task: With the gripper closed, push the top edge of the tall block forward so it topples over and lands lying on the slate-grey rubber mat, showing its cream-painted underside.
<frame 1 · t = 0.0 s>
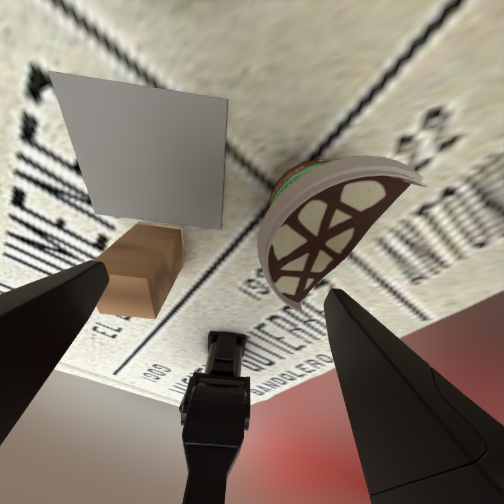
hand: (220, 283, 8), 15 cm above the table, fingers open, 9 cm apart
food container: (290, 193, 21), on the table
mat: (152, 164, 19), on the table
block: (163, 242, 24), on the table
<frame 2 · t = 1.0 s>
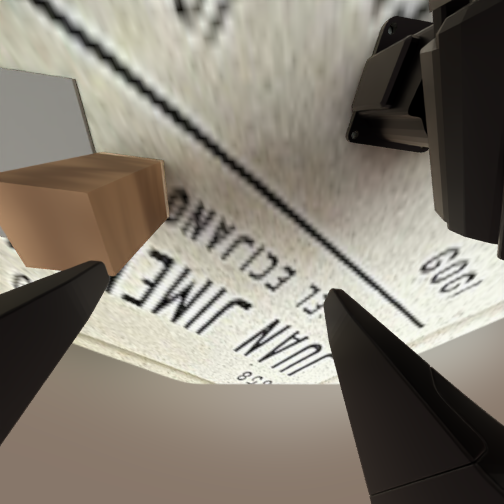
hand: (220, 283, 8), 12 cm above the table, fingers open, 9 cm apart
mat: (32, 173, 17), on the table
block: (138, 186, 18), on the table
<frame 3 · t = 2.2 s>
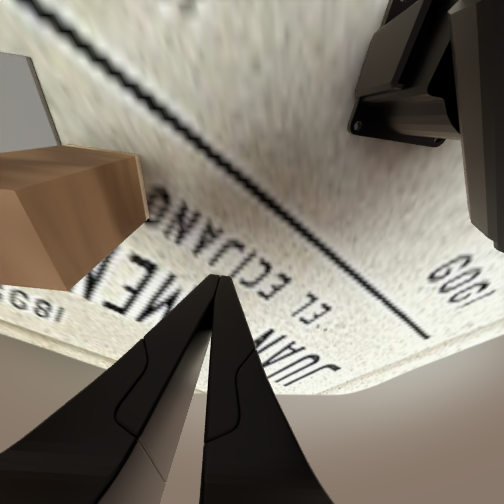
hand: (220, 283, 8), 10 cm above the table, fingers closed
block: (112, 184, 16), on the table
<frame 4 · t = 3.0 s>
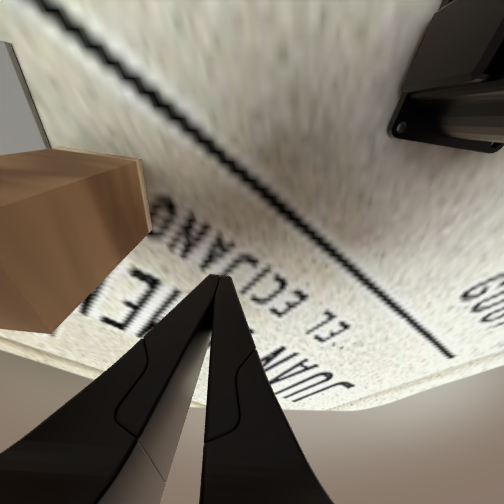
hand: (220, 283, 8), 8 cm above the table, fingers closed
block: (110, 192, 14), on the table
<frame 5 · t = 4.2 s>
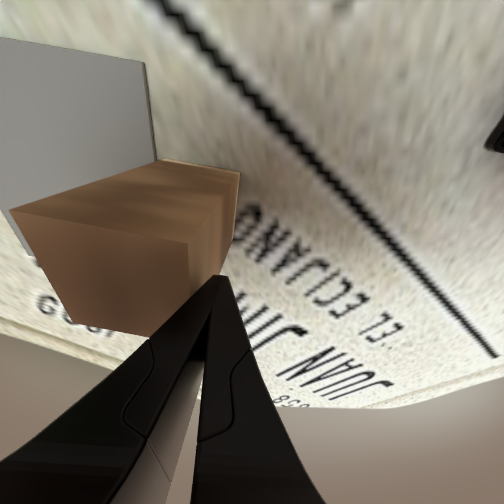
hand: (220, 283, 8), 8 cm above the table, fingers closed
mat: (73, 182, 14), on the table
block: (202, 202, 14), on the table, touching gripper
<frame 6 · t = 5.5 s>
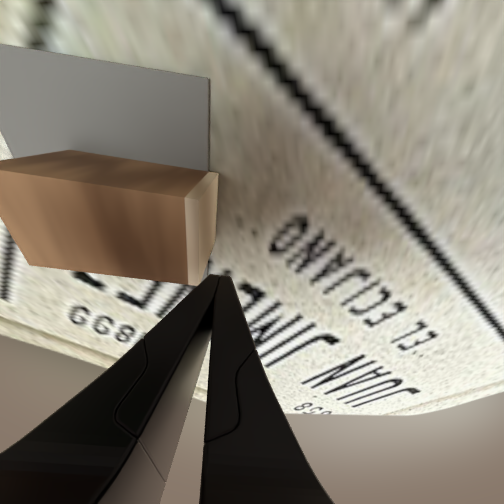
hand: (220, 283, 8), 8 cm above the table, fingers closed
mat: (121, 196, 14), on the table
block: (209, 226, 12), point 3 cm above the table, tilted 90°, touching mat
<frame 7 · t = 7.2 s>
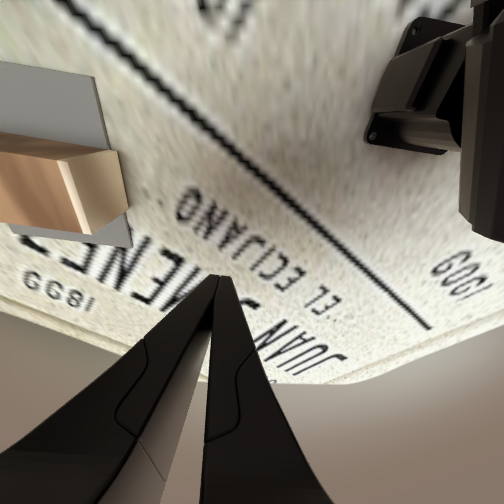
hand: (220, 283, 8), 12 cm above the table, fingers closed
mat: (46, 170, 17), on the table
block: (104, 191, 15), point 3 cm above the table, tilted 90°, touching mat
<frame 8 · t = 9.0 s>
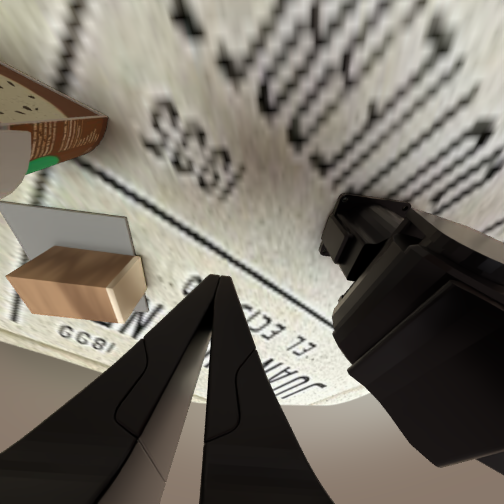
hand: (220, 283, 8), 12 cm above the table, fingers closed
food container: (43, 126, 16), on the table
mat: (86, 265, 23), on the table
block: (132, 289, 21), point 3 cm above the table, tilted 90°, touching mat
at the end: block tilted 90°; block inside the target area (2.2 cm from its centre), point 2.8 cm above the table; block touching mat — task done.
